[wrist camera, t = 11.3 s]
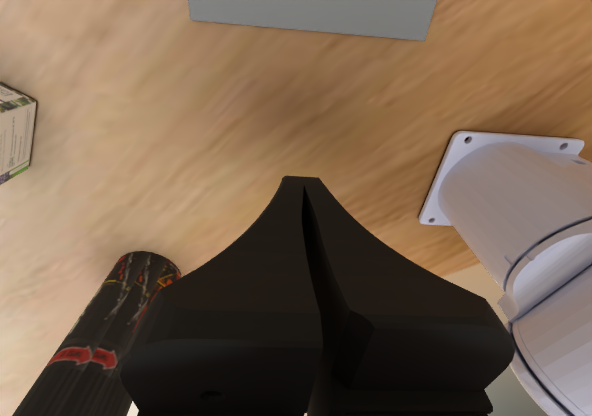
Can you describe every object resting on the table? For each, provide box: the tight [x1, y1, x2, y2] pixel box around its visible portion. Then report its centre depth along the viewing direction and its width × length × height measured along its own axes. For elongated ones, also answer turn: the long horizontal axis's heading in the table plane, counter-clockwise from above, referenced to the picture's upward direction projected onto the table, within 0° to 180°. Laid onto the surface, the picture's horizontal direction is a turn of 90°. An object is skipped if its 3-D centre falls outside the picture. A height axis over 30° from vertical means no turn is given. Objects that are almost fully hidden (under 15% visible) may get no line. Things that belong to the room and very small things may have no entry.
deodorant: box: [12, 251, 181, 416], centre depth 21 cm, size 6×6×15 cm
